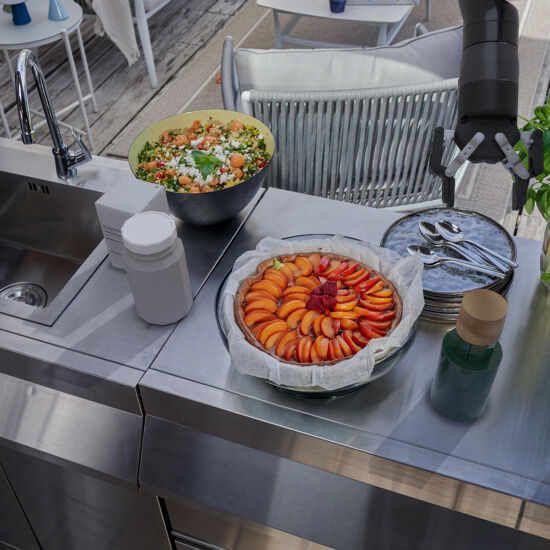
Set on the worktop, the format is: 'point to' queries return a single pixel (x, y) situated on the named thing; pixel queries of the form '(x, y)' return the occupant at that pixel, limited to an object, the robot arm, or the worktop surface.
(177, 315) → the jar
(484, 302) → the stopper
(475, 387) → the flask
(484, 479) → the worktop surface
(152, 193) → the rectangular carton
